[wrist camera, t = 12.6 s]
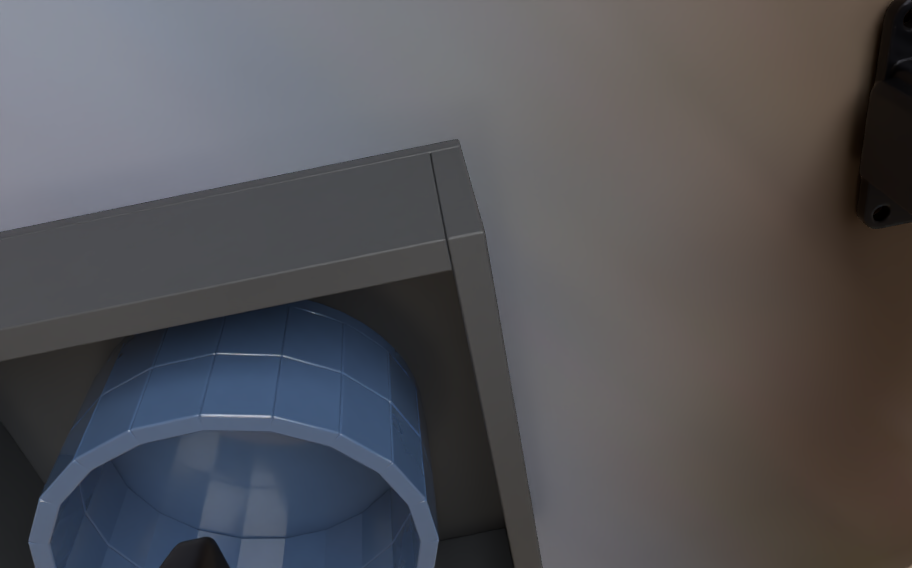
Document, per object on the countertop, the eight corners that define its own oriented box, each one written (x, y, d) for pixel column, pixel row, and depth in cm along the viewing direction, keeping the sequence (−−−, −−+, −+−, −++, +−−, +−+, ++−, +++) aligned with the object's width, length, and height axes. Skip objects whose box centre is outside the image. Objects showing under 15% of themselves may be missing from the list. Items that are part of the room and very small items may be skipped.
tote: (458, 137, 20) (484, 230, 15) (528, 524, 28) (557, 652, 24) (-130, 257, 20) (-263, 382, 15) (119, 607, 28) (77, 747, 24)
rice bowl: (381, 256, 21) (385, 373, 16) (451, 497, 26) (468, 631, 22) (27, 335, 21) (-57, 470, 17) (171, 558, 26) (135, 702, 22)
